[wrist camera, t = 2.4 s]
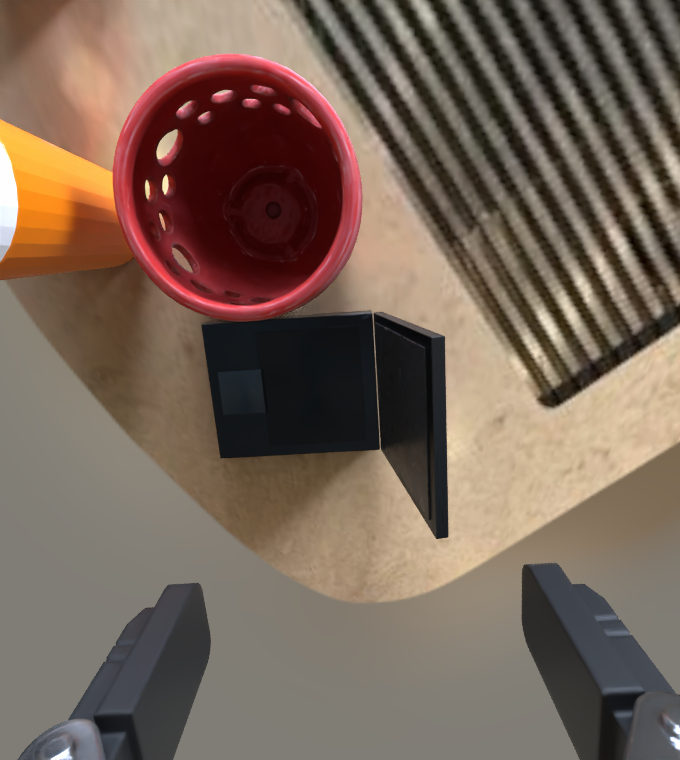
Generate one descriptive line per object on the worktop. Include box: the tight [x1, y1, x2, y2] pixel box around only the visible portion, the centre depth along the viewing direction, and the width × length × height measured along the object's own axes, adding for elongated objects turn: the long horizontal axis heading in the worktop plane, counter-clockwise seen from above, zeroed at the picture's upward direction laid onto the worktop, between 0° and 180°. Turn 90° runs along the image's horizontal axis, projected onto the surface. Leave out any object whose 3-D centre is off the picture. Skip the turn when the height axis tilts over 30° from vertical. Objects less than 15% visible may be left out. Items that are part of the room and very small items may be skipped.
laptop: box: [202, 311, 380, 458], centre depth 38 cm, size 13×11×2 cm
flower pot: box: [113, 54, 362, 322], centre depth 30 cm, size 13×13×12 cm
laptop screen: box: [374, 312, 448, 539], centre depth 30 cm, size 13×11×1 cm
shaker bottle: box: [0, 120, 134, 280], centre depth 26 cm, size 9×9×20 cm
